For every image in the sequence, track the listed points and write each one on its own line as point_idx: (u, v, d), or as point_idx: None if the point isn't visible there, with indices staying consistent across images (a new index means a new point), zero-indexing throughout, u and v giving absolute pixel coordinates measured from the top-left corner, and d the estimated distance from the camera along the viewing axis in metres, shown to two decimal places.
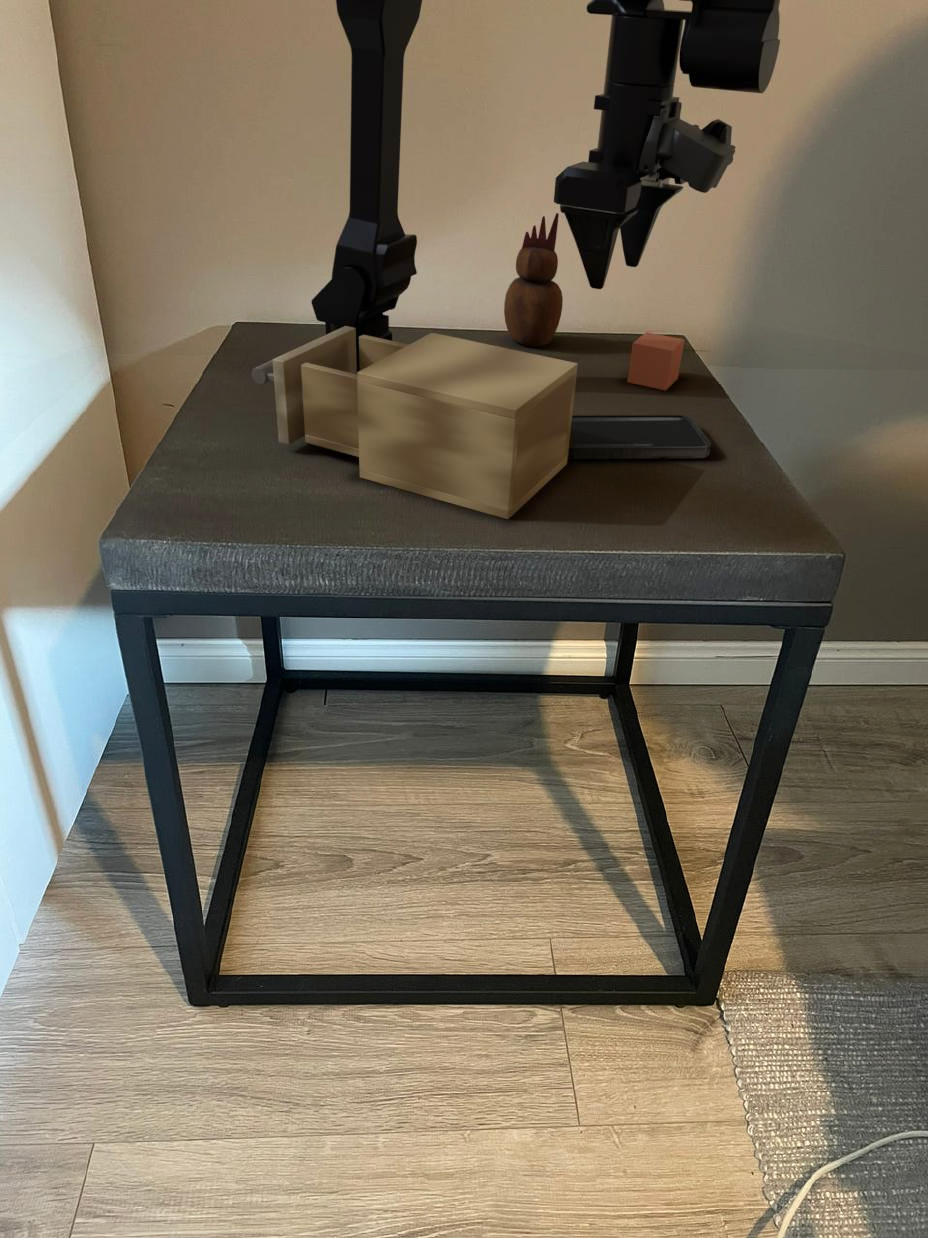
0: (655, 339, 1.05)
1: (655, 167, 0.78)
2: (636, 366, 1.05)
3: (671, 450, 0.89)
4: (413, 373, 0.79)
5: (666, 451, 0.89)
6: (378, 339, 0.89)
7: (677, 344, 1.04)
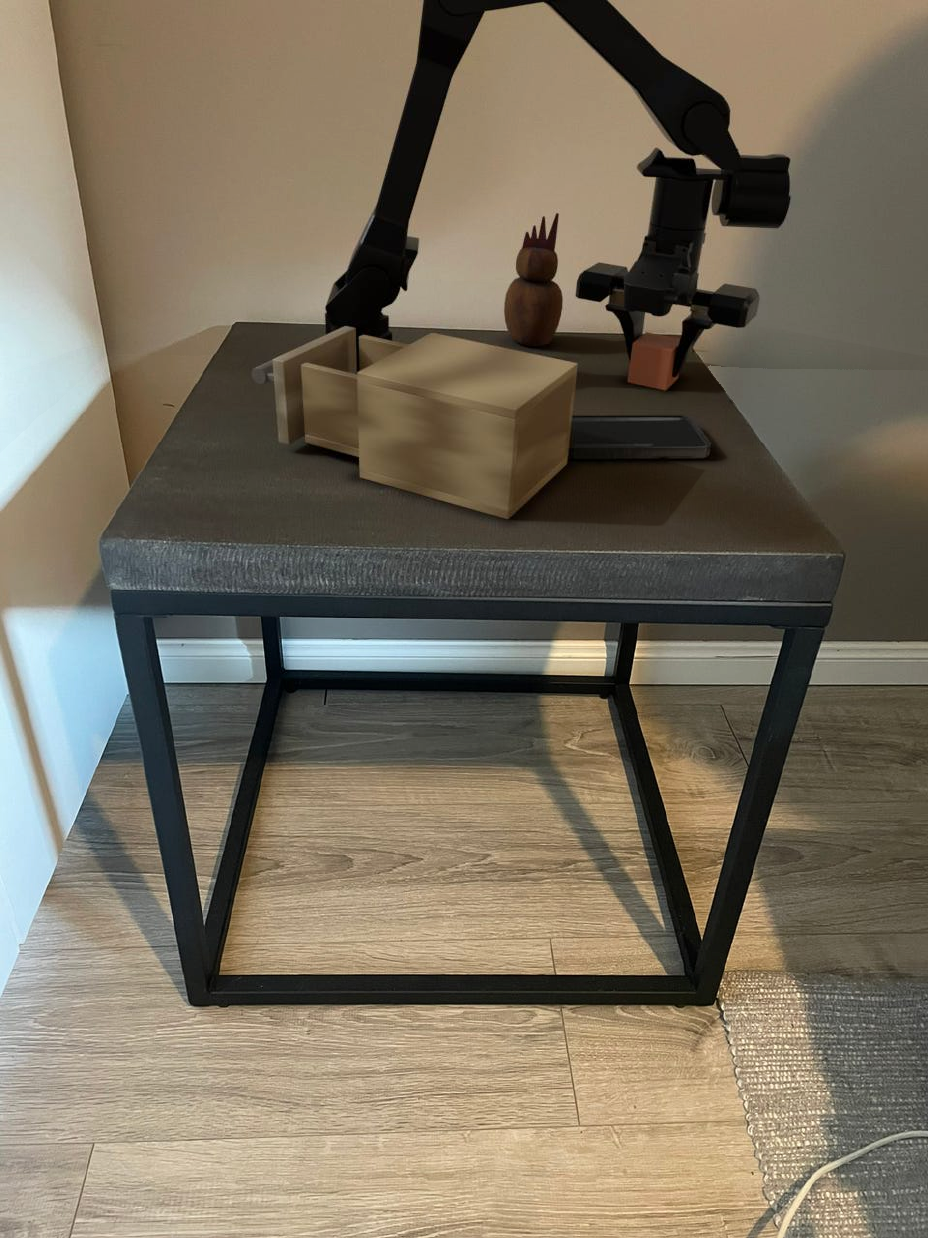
0: (655, 339, 1.05)
1: None
2: (636, 366, 1.05)
3: (671, 450, 0.89)
4: (413, 373, 0.79)
5: (666, 451, 0.89)
6: (378, 339, 0.89)
7: (677, 344, 1.04)
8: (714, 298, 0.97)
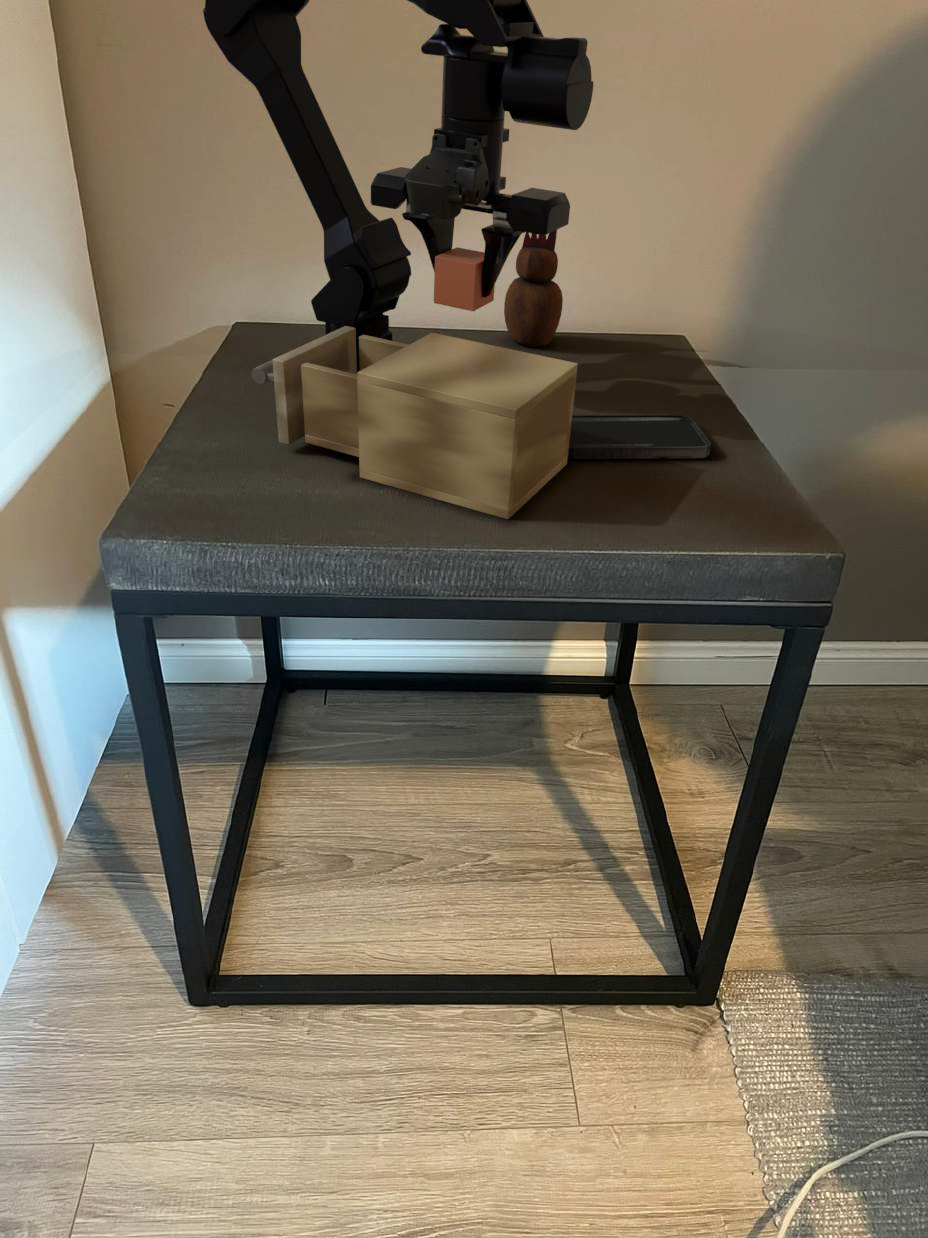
0: (462, 253, 0.93)
1: None
2: (441, 284, 0.93)
3: (671, 450, 0.89)
4: (413, 373, 0.79)
5: (666, 451, 0.89)
6: (378, 339, 0.89)
7: None
8: (512, 200, 0.85)
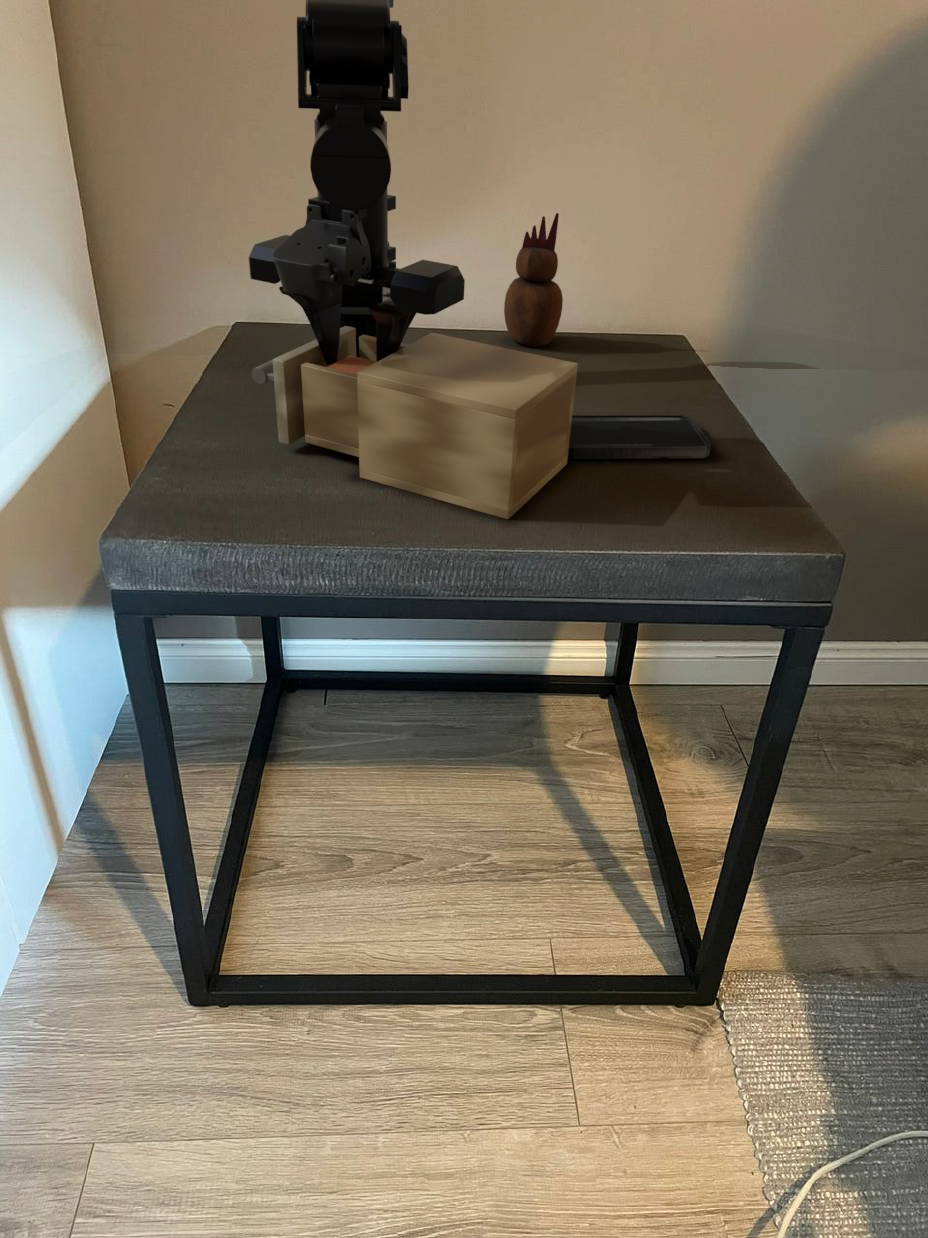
0: (353, 364, 0.86)
1: None
2: None
3: (671, 450, 0.89)
4: (413, 373, 0.79)
5: (666, 451, 0.89)
6: None
7: None
8: (396, 277, 0.77)
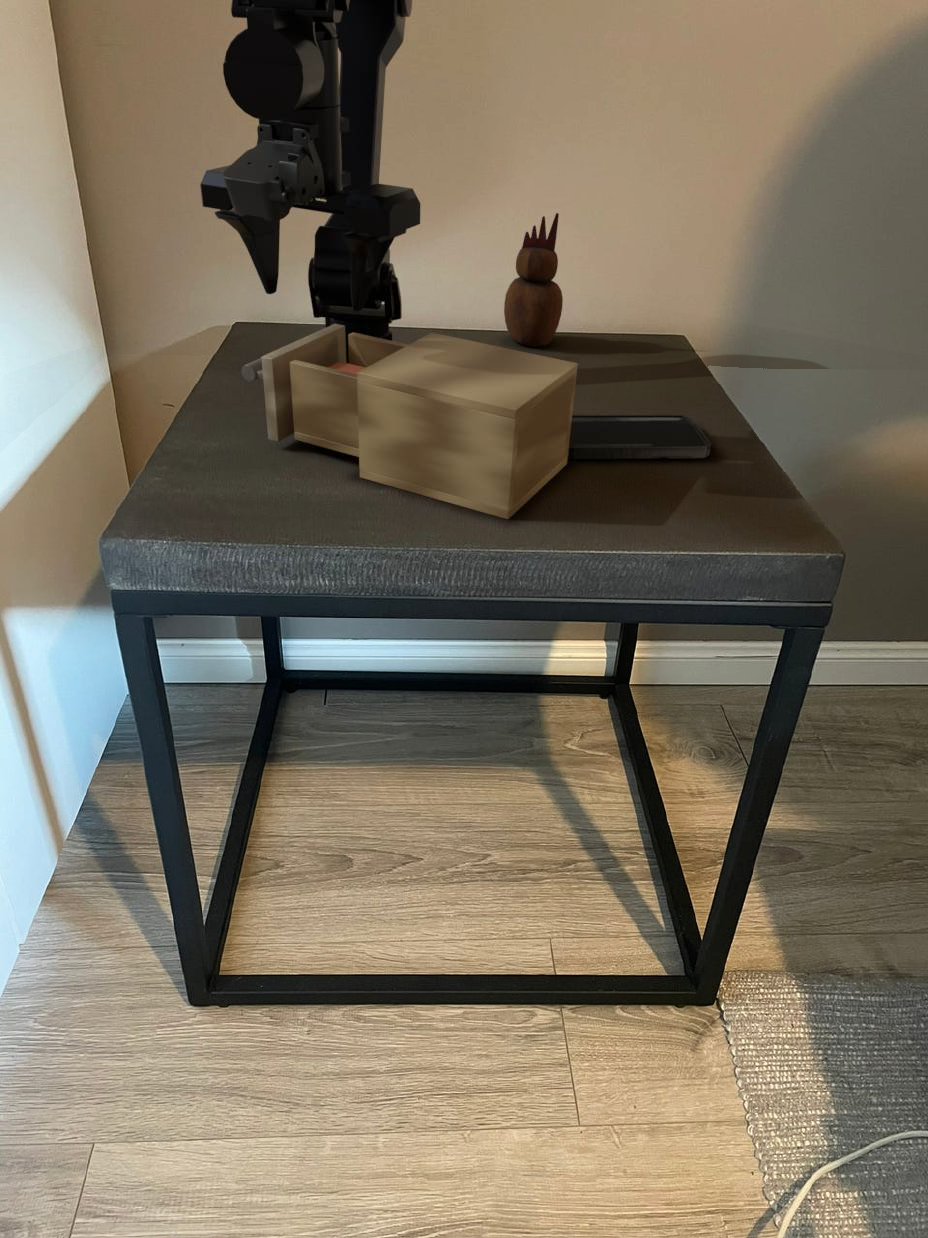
0: (342, 370, 0.87)
1: None
2: None
3: (671, 450, 0.89)
4: (413, 373, 0.79)
5: (666, 451, 0.89)
6: (367, 337, 0.89)
7: None
8: (350, 198, 0.75)
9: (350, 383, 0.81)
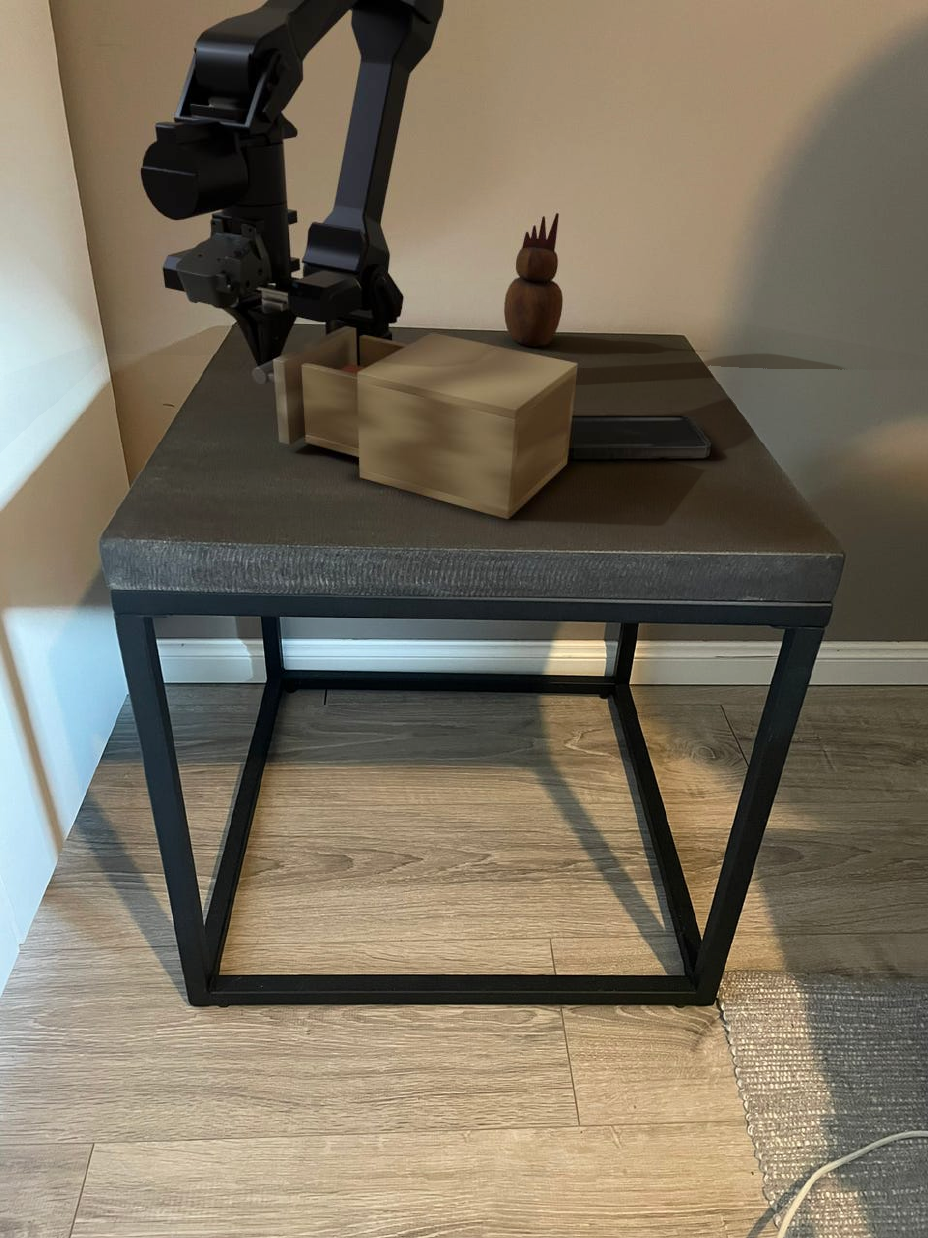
0: (354, 373, 0.87)
1: None
2: None
3: (671, 450, 0.89)
4: (413, 373, 0.79)
5: (666, 451, 0.89)
6: (379, 339, 0.89)
7: None
8: (293, 287, 0.82)
9: None
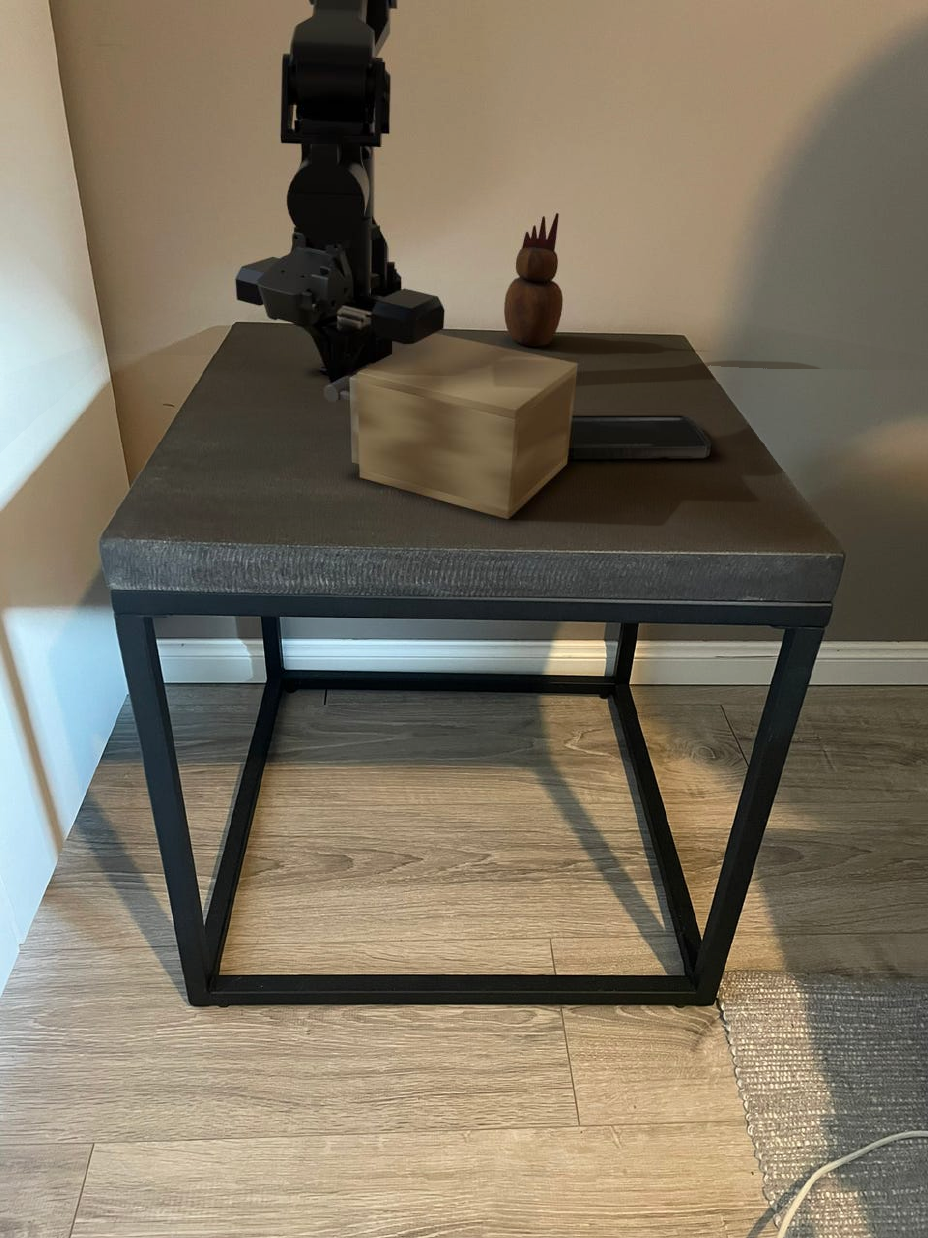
0: None
1: None
2: None
3: (671, 450, 0.89)
4: (413, 373, 0.79)
5: (666, 451, 0.89)
6: None
7: None
8: (377, 307, 0.79)
9: None
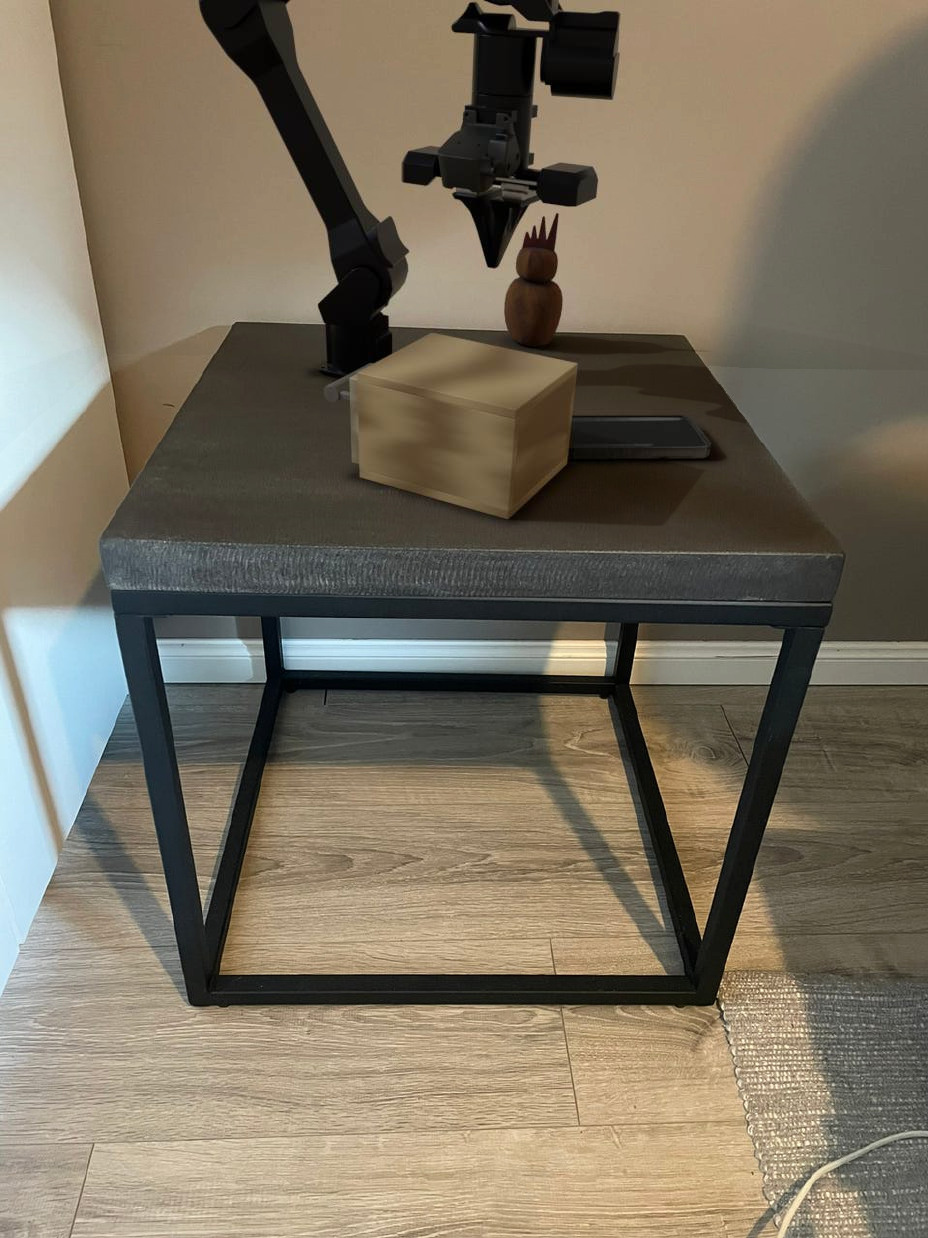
0: None
1: None
2: None
3: (671, 450, 0.89)
4: (413, 373, 0.79)
5: (666, 451, 0.89)
6: None
7: None
8: (542, 174, 0.87)
9: None
